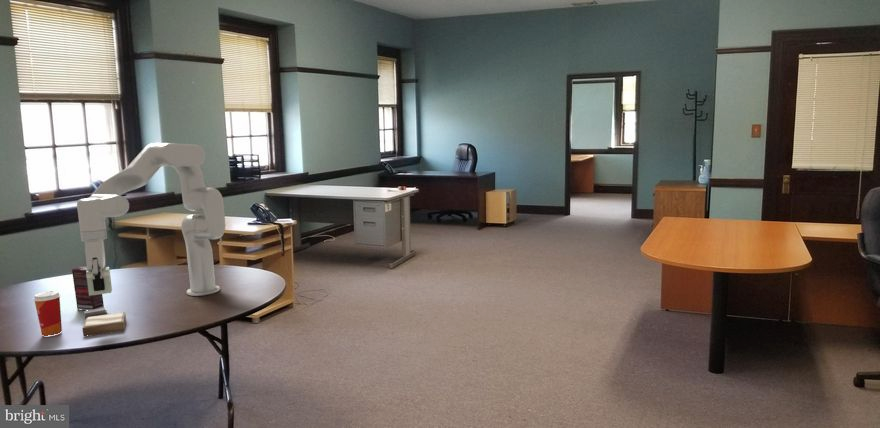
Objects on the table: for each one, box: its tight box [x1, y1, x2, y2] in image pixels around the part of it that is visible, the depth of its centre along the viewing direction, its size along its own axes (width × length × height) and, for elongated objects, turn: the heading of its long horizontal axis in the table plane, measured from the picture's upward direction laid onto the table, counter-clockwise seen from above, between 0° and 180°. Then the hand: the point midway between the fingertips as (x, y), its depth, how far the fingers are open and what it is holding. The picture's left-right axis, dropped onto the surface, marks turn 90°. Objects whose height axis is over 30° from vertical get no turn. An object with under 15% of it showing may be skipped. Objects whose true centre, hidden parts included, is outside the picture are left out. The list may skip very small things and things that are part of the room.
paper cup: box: [32, 290, 63, 336], centre depth 209 cm, size 8×8×14 cm
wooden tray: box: [81, 311, 127, 337], centre depth 215 cm, size 12×12×3 cm
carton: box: [86, 266, 113, 296], centre depth 212 cm, size 5×7×8 cm
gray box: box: [83, 307, 108, 321], centre depth 223 cm, size 4×7×4 cm, turn 123°
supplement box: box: [71, 265, 105, 311], centre depth 236 cm, size 9×5×16 cm, turn 71°
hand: (100, 288), depth 213 cm, fingers closed on carton, 4 cm apart
